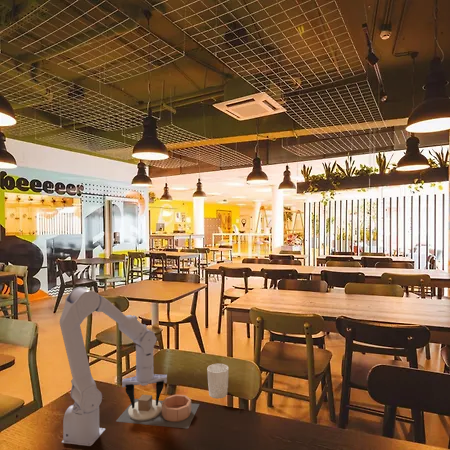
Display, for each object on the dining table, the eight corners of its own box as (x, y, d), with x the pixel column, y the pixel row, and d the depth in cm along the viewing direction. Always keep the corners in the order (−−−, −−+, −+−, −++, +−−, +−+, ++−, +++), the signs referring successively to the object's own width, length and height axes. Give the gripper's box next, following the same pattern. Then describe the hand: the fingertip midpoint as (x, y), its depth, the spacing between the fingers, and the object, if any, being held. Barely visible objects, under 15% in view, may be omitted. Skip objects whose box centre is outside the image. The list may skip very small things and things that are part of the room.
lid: (122, 419, 106) (122, 405, 106) (136, 401, 117) (136, 388, 117) (154, 422, 104) (154, 407, 104) (166, 403, 115) (166, 390, 115)
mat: (115, 422, 105) (115, 421, 105) (135, 400, 119) (135, 398, 119) (188, 430, 101) (188, 428, 101) (199, 405, 114) (199, 404, 114)
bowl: (158, 420, 105) (158, 408, 105) (168, 405, 114) (168, 393, 114) (185, 423, 103) (185, 410, 103) (193, 407, 112) (193, 395, 112)
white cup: (215, 403, 116) (215, 374, 116) (203, 394, 122) (203, 367, 122) (233, 396, 121) (232, 368, 121) (220, 387, 127) (220, 361, 127)
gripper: (120, 372, 105) (121, 414, 105) (166, 367, 108) (167, 409, 108) (123, 363, 112) (123, 403, 112) (166, 359, 115) (166, 398, 115)
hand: (145, 405), depth 110 cm, fingers open, 7 cm apart
